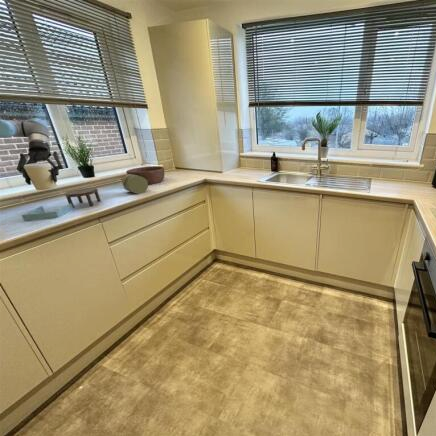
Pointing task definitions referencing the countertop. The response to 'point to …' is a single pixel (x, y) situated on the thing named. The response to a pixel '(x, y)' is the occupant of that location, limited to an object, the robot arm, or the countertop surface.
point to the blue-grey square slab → (46, 213)
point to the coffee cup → (41, 175)
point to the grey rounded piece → (134, 183)
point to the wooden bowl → (149, 173)
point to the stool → (82, 192)
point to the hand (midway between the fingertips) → (41, 181)
